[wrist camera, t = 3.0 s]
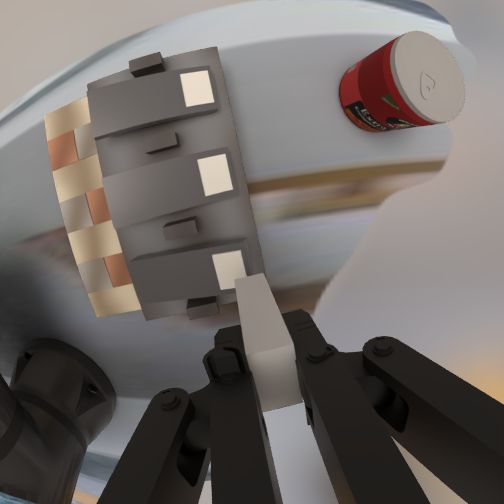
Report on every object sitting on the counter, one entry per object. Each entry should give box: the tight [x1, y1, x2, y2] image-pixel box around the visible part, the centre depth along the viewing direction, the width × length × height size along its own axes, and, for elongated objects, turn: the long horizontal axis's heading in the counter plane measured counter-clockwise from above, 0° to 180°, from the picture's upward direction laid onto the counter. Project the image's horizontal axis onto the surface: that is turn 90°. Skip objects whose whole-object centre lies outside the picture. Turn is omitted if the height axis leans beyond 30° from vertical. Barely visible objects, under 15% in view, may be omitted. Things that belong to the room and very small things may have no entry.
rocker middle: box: [101, 147, 237, 230], centre depth 20 cm, size 9×4×1 cm, turn 102°
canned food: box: [339, 31, 465, 132], centre depth 21 cm, size 8×8×11 cm
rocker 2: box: [130, 237, 254, 304], centre depth 22 cm, size 9×4×1 cm, turn 101°
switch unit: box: [44, 46, 266, 321], centre depth 23 cm, size 18×22×7 cm
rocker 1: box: [87, 65, 219, 141], centre depth 18 cm, size 9×4×1 cm, turn 102°
